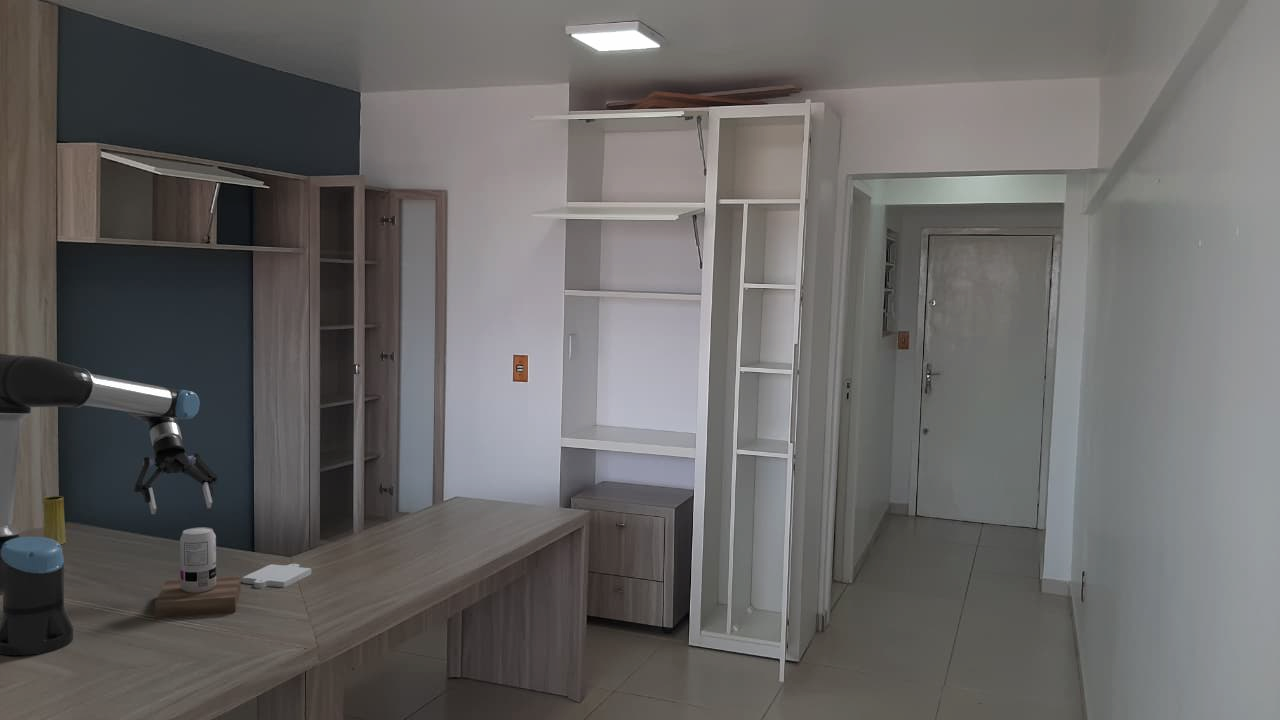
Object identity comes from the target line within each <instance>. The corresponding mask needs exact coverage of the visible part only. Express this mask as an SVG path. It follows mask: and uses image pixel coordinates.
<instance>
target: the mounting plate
mask: <svg viewBox="0 0 1280 720" xmlns="http://www.w3.org/2000/svg"><path fill="white" fill-rule="evenodd" d="M310 575H312V568H308V567H300V564H299V563H289V564H287V565H282V564H272V563H271V564H269V565H266V566H264V567H262V568H260V569H258V570H255V571H252V572H251V573H249V574H246V575H244V576H242V577H241V578H242V581H241V582H242V583H243V584H249V585H250V584H251V585H253V587H254V588H257V589H265V588H266V587H275V588H276V587H279V588H286V587H288V586H290V585H293V584H294V583H295V582H298V581H300V580H302V579H304V578H306V577H308V576H310Z"/></svg>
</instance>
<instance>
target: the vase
mask: <svg viewBox="0 0 1280 720" xmlns="http://www.w3.org/2000/svg"><path fill="white" fill-rule="evenodd" d="M64 500H65V499H64V496H62V495H56V496H55V495H54V496H52V495H51V496H46V497H44V498H43V537H46V538H50V539H53V540H55V541H57V542H58V543H59V544H60V545H61V544H62V545H64V543H65V544H66V543H67V539H66V537H67V536H66V525H65V523H66V522H65V502H64ZM62 545H61V546H62Z"/></svg>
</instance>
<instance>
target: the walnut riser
mask: <svg viewBox="0 0 1280 720" xmlns="http://www.w3.org/2000/svg"><path fill="white" fill-rule="evenodd" d="M240 593H241V575H232V576H231V575H229V576H218V577H217V576H216V585H215V586H214V588H213V589H211V590H209V591H206V592H200V593H188V592H185V591H184V590H183V589H181V579H173V580H171V579H168V580H165V581H164V583H163V585H162V587H161V590H160V591H159V594H158V595H157V597H156V600H155V601H154V614H155V615H154V618H155V619H156V618H158V619H167V618H170V617H171V618H184V617H195V616H208V615H220V614H221V615H222V614H232V613H234V614H235V613H236V611H237V608H238V607H237V606H238V602H239V598H240ZM166 617H167V618H166Z"/></svg>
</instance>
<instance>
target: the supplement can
mask: <svg viewBox="0 0 1280 720" xmlns="http://www.w3.org/2000/svg"><path fill="white" fill-rule="evenodd" d="M179 544H180V545H179V549H180V550H179V551H180V553H179V554H180V556H179V558H180V559H179V560H180V565H179V566H180V580H181V589H183V590H184V591H185V592H188V593H200V592H206V591H209V590H211V589H213V588H214V586H215V585H216V577H217V536H216V533H215V532H214V529H213V528H212V527H193V528H192V527H191V528H187V529H184V530H183V531H182V534H181V535H180V539H179Z"/></svg>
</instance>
